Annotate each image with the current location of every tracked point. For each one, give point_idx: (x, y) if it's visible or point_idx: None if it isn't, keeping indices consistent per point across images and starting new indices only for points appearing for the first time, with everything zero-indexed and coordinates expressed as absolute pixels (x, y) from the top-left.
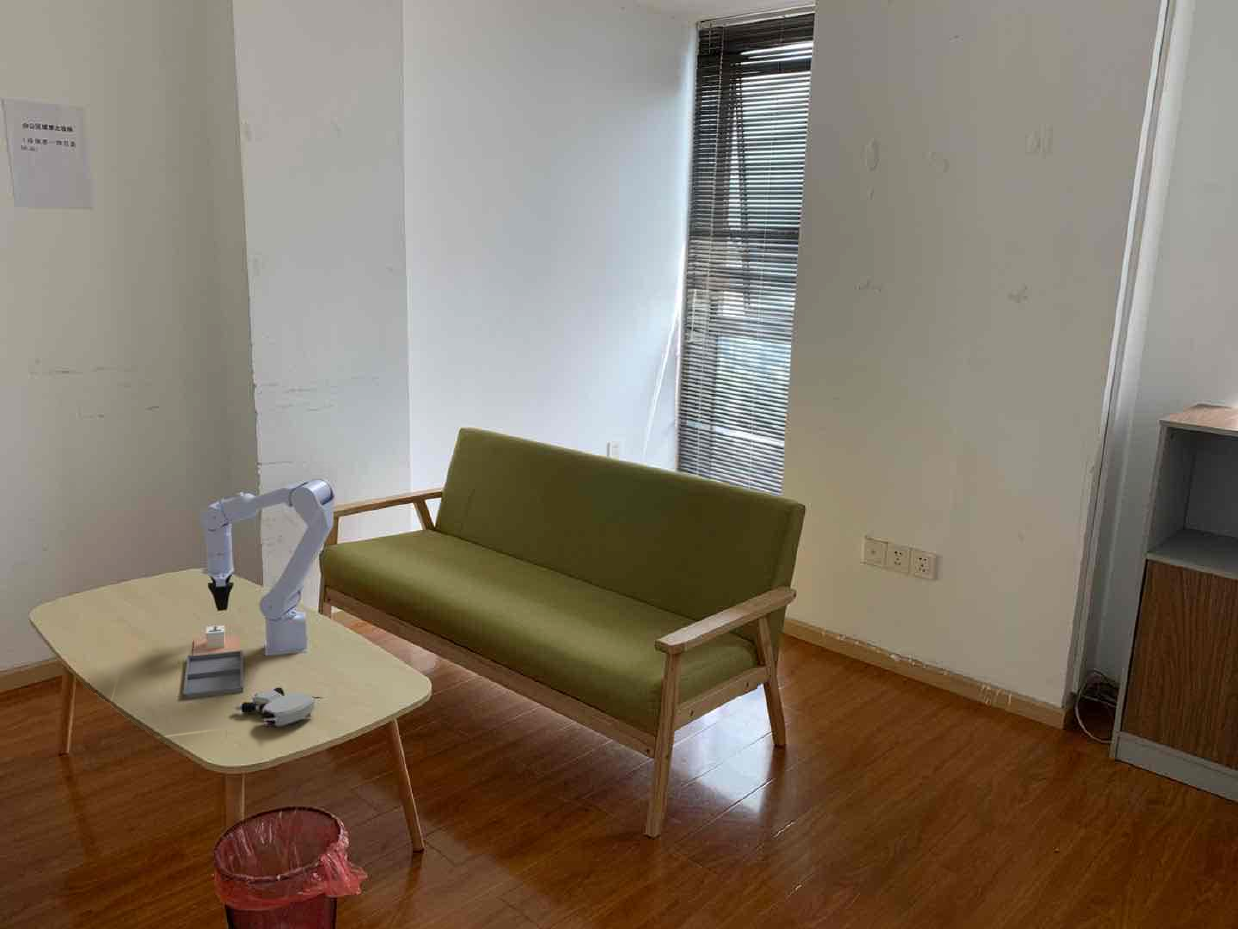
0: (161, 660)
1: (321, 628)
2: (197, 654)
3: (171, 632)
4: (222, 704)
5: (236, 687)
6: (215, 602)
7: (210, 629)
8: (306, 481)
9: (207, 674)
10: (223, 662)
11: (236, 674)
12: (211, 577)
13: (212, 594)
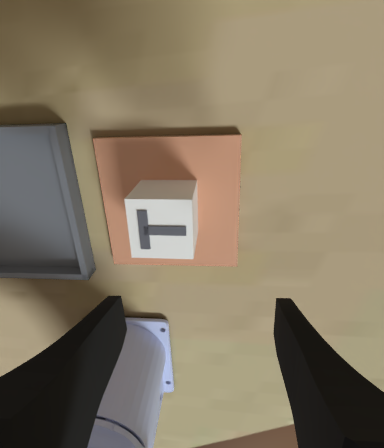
0: (84, 20)
1: (233, 417)
2: (99, 153)
3: (369, 26)
4: None
5: None
6: (73, 327)
7: (162, 214)
8: None
9: None
10: (44, 226)
11: None
12: (327, 417)
13: (16, 368)
